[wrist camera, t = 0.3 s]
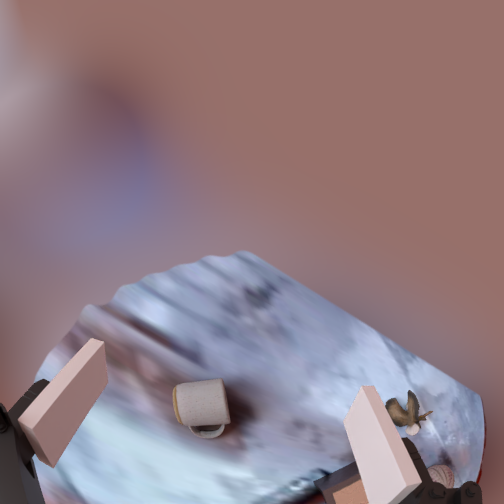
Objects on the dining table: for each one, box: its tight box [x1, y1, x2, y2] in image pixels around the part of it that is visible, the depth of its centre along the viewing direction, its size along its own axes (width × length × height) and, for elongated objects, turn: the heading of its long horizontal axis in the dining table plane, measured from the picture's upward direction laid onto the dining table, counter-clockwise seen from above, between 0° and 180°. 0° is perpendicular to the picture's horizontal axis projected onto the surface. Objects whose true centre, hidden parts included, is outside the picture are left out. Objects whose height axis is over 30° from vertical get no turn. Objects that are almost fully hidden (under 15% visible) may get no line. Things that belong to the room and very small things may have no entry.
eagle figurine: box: [385, 390, 433, 436], centre depth 43 cm, size 8×7×9 cm
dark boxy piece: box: [313, 461, 369, 504], centre depth 36 cm, size 12×14×5 cm
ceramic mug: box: [173, 378, 230, 438], centre depth 39 cm, size 11×8×8 cm
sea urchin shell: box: [427, 465, 454, 488], centre depth 35 cm, size 13×14×8 cm
